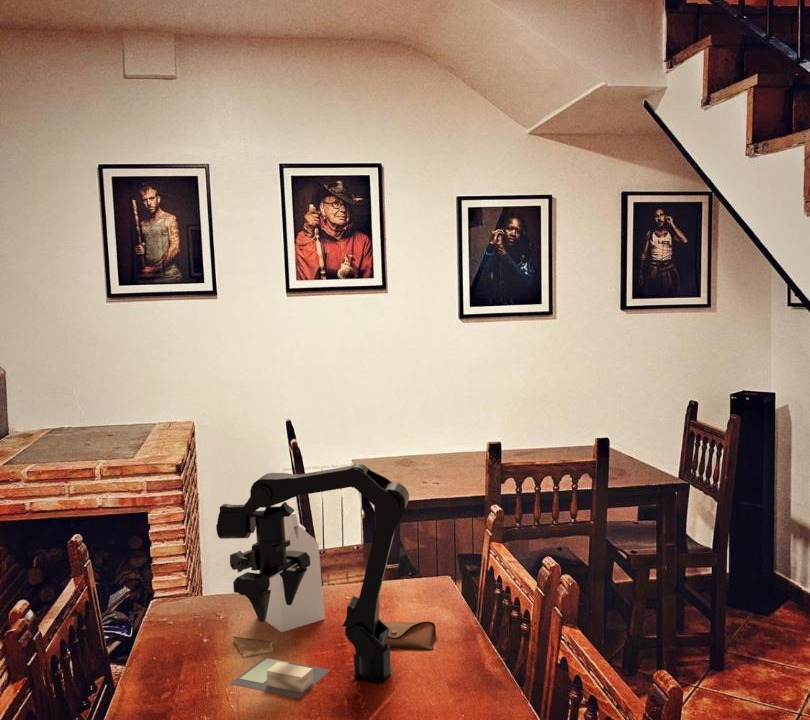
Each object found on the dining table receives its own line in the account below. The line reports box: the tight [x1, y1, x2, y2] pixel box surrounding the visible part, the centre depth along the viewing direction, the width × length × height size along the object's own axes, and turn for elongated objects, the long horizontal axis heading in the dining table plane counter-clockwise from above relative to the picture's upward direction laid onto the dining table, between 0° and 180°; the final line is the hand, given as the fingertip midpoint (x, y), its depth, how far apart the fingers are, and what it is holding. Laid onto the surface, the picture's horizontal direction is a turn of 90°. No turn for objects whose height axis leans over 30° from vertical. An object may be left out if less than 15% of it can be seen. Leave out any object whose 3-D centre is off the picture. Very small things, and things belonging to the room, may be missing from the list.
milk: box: [258, 512, 325, 633], centre depth 184 cm, size 12×12×26 cm
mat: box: [229, 657, 331, 699], centre depth 153 cm, size 16×12×1 cm
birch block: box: [267, 662, 313, 693], centre depth 150 cm, size 8×4×3 cm, turn 66°
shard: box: [232, 636, 274, 658], centre depth 169 cm, size 11×8×2 cm
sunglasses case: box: [382, 621, 437, 651], centre depth 170 cm, size 18×7×7 cm
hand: (275, 613), depth 155 cm, fingers open, 9 cm apart
